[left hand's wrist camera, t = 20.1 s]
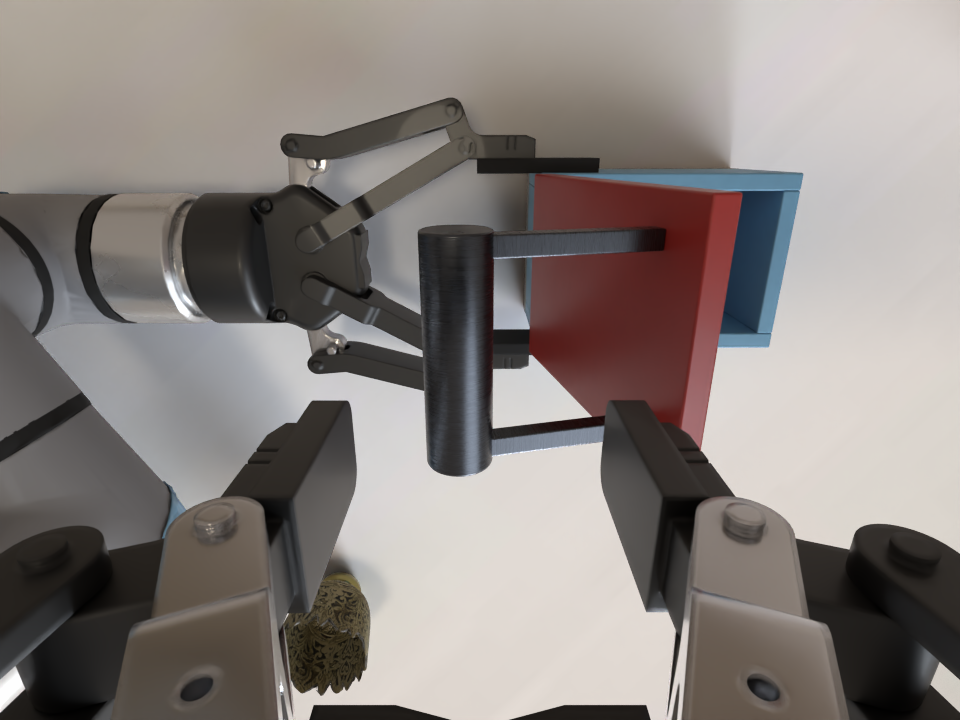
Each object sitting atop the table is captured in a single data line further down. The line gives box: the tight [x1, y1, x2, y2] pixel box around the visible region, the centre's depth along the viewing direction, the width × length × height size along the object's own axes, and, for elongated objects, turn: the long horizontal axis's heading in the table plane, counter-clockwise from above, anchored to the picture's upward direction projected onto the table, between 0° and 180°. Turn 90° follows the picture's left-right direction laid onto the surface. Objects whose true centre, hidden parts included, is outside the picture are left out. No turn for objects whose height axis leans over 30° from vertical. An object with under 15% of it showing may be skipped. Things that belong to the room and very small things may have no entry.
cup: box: [284, 572, 370, 696], centre depth 45 cm, size 8×7×8 cm
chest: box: [524, 168, 803, 348], centre depth 34 cm, size 14×10×9 cm
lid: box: [418, 174, 742, 477], centre depth 22 cm, size 14×10×9 cm
